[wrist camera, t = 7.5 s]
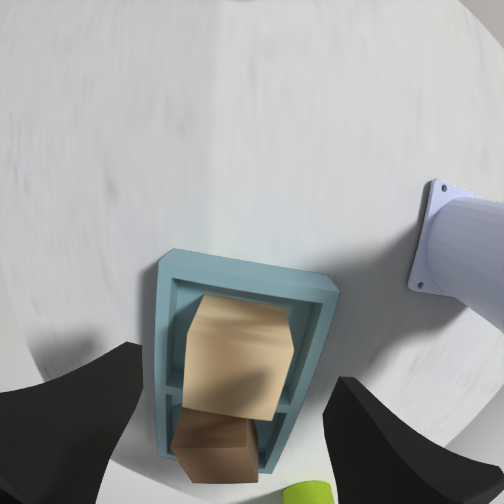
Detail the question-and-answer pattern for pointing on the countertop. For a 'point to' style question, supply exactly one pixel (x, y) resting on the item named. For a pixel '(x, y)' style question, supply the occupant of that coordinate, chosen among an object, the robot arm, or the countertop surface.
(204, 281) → the caddy
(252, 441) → the walnut block
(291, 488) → the soap dispenser
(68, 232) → the countertop surface
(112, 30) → the countertop surface
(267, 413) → the oak twin block
